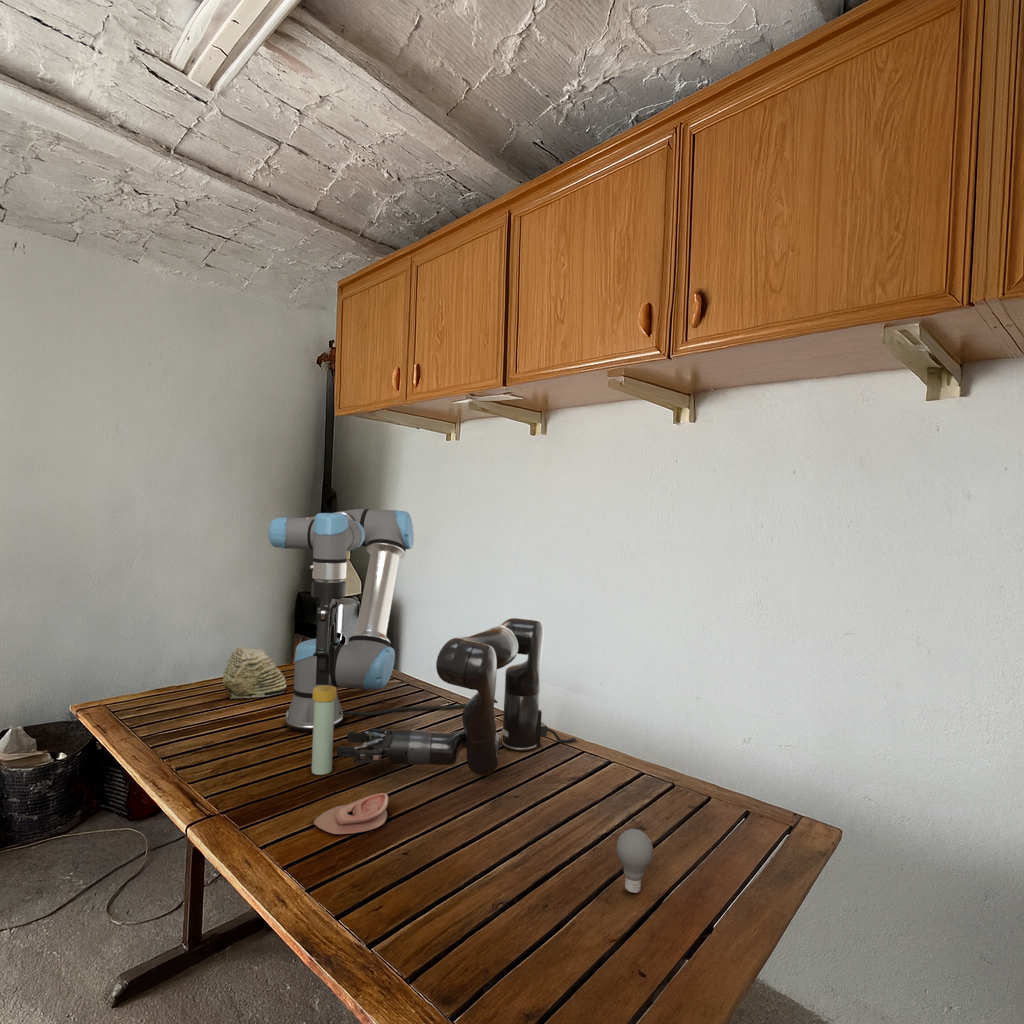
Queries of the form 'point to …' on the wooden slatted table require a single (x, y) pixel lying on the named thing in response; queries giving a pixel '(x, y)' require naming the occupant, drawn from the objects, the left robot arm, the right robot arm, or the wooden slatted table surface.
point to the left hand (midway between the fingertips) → (325, 679)
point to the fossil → (252, 674)
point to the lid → (324, 693)
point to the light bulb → (634, 857)
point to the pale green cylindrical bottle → (322, 737)
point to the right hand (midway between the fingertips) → (342, 743)
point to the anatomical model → (355, 816)
